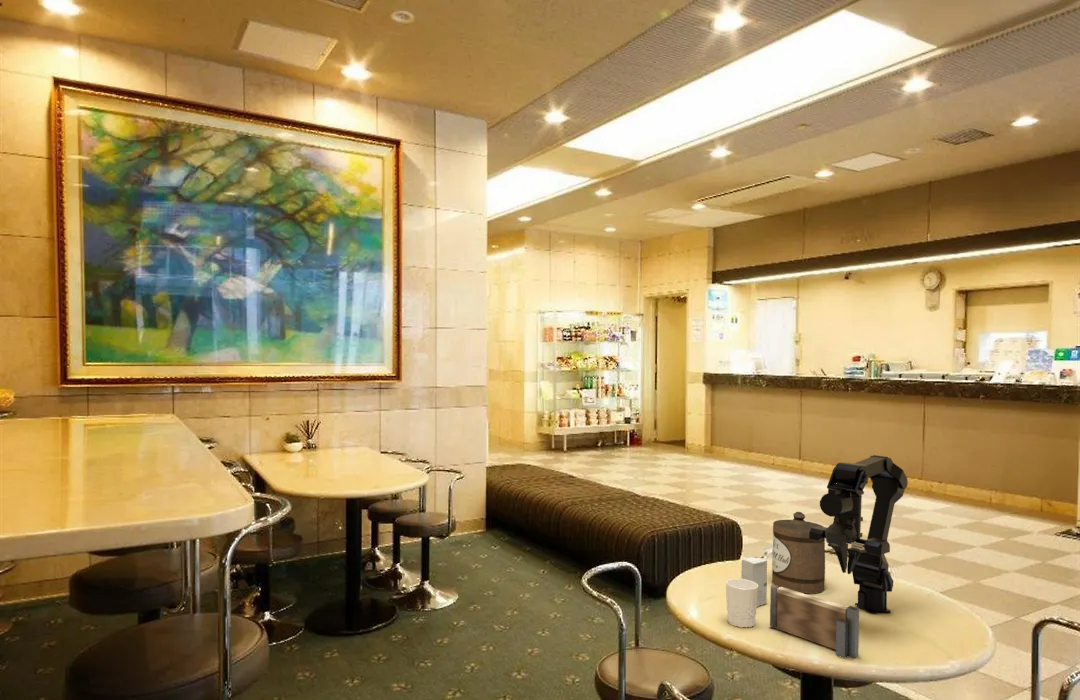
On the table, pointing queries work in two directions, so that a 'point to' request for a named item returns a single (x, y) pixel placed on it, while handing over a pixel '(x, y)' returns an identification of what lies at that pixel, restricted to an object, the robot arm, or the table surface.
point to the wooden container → (797, 556)
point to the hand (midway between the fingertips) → (846, 573)
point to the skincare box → (756, 576)
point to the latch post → (848, 634)
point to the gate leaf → (805, 615)
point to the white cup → (741, 602)
